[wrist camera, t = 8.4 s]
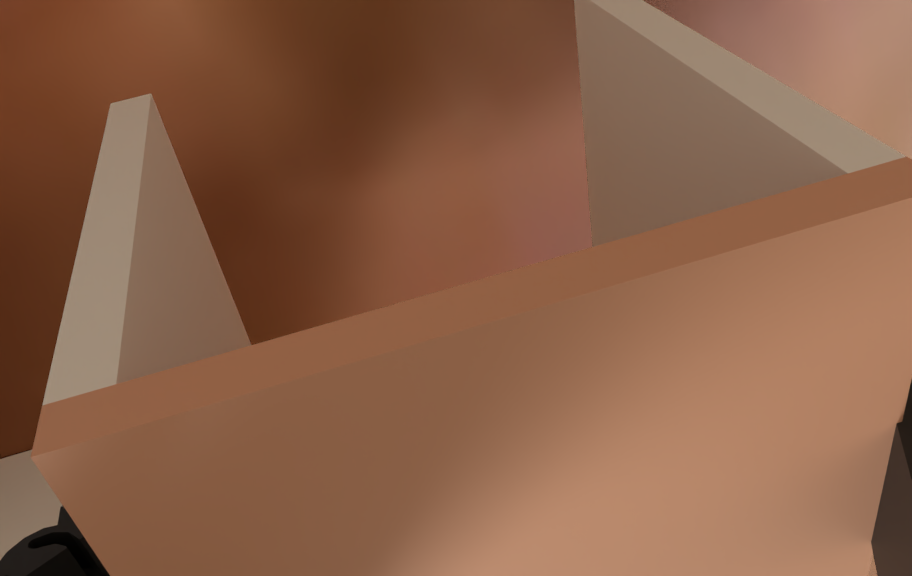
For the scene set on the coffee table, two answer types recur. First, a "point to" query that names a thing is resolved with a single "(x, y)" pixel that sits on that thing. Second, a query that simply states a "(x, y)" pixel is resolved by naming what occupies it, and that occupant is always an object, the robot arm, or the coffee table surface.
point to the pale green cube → (24, 500)
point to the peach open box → (516, 360)
